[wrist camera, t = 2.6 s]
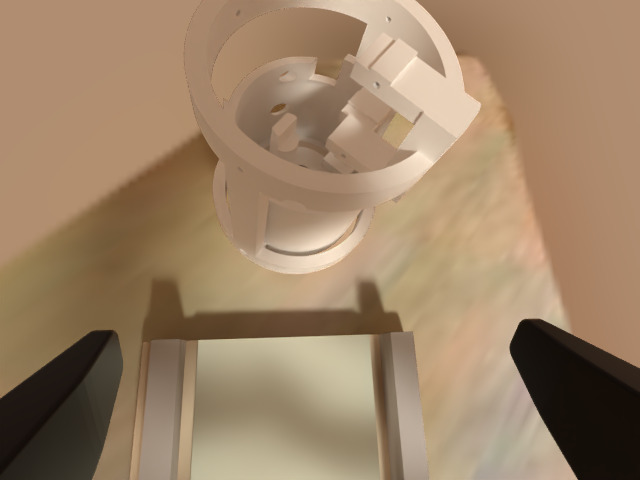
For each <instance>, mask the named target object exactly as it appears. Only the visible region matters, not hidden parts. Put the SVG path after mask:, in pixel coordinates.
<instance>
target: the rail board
mask: <svg viewBox="0 0 640 480" xmlns="http://www.w3.org/2000/svg"><path fill="white" fill-rule="evenodd" d="M129 480H430V479H429V470H428V461H427V452H426V444H425V435H424V426H423V417H422V408H421V399H420V390H419V381H418V372H417V363H416V354H415V345H414V336H413V332H389V333H383V334H375V335H339V336H308V337H277V338H247V339H216V340H192V341H186V340H182V339H162V340H151V342H143V346H142V357H141V367H140V377H139V387H138V397H137V408H136V418H135V428H134V438H133V448H132V459H131V469H130V479H129Z"/></svg>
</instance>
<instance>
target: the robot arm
mask: <svg viewBox="0 0 640 480" xmlns="http://www.w3.org/2000/svg"><path fill="white" fill-rule="evenodd" d="M510 354H511V356H512V358H513V360H514V363H515V365H516V367H517V369H518V371H519V373H520V375H521V377H522V379H523V381H524V383H525V386H526V388H527V390H528V392H529V394H530V396H531V398H532V400H533V402H534V404H535V406H536V408H537V410H538V412H539V414H540V416H541V418H542V420H543V421H544V423H545V425H546V427H547V428H548V430H549V432H550V433H551V435H552V437H553V438H554V440H555V442H556V443H557V445H558V447H559V449H560V450H561V452H562V454H563V455H564V457H565V459H566V460H567V462H568V464H569V465H570V467H571V469H572V471H573V472H574V474H575V476H576V477H577V479H578V480H640V368H638V367H636V366H633V365H632V364H630V363H628V362H626V361H624V360H622V359H619V358H617V357H616V356H614V355H612V354H610V353H608V352H606V351H604V350H602V349H600V348H597V347H596V346H594V345H592V344H590V343H588V342H586V341H584V340H582V339H580V338H578V337H576V336H574V335H572V334H570V333H568V332H566V331H564V330H562V329H560V328H558V327H556V326H554V325H552V324H550V323H548V322H546V321H544V320H541V319H524V320H522V321H521V322H520V323H519V325H518V327H517V329H516V332H515V334H514V336H513V338H512V341H511V343H510ZM122 370H123V359H122V354H121V348H120V343H119V338H118V335H117V333H116V331H114V330H96V331H92V332H90V333H88V334H87V335H86V336H84V337H83V338H82V339H80V340H79V341H77V342H76V343H75V344H73V345H72V346H71V347H69V348H68V349H67V350H65V351H64V352H63V353H61V354H60V355H59V356H57V357H56V358H54V359H53V360H52V361H50V362H49V363H48V364H46V365H45V366H44V367H42V368H41V369H40V370H38V371H37V372H36V373H34V374H33V375H31V376H30V377H29V378H27V379H26V380H25V381H23V382H22V383H21V384H19V385H18V386H17V387H15V388H14V389H13V390H11V391H10V392H8V393H7V394H6V395H4V396H3V397H2V398H0V480H92V478H93V476H94V473H95V470H96V467H97V465H98V462H99V459H100V456H101V453H102V450H103V447H104V443H105V439H106V436H107V432H108V427H109V423H110V419H111V415H112V411H113V407H114V403H115V399H116V395H117V391H118V387H119V383H120V379H121V375H122Z"/></svg>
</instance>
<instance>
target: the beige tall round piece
mask: <svg viewBox="0 0 640 480" xmlns="http://www.w3.org/2000/svg"><path fill="white" fill-rule="evenodd" d="M294 7H313V8H322V9H328V10H333V11H337V12H340V13H344V14H347V15H350V16H352V17H355V18H357V19H359V20H361V21H363V22H365V23H367V24H368V25H367V27H366V30H365V33H364V36H363V39H362V41H361V44H360V47H359V50H358V53H357V55H356V57H354V56H352V55H350V54H348V55H347V56H346V57H345V58H344V60H343V63H342V66H341V69H340V72H339V75H338V78H337V80H335V79H332V78H329V77H326V76H323V75H318V74H314V72H315V68H316V64H317V59H318V58H317V57H308V56H297V57H286V58H281V59H277V60H274V61H271V62H268V63H266V64H264V65H262V66H260V67H258V68H256V69H255V70H253V71H252V72H251V73H249V74H248V75H247V76H246V77H245V78H244V79H243V80H242V81H241V82H240V83H239V84H238V86H237V87H236V89H235V91H234V92H233V94H232V96H231V98H230V100H229V102H228V101H227V100H225V99H223V108H222V107H221V105H220V103H219V101H218V99H217V97H216V95H215V93H214V91H213V88H212V86H211V75H212V70H213V66H214V63H215V60H216V58H217V55H218V53H219V51H220V50H221V48H222V46H223V45H224V43H225V42H226V41H227V40H228V38H229V37H230V36H231V35H232V34H233V33H234V32H235V31H236V30H237V29H238V28H240V27H241V26H243V25H244V24H245V23H247V22H249V21H250V20H252V19H254V18H256V17H258V16H260V15H263V14H266V13H268V12H272V11H275V10H280V9H285V8H294ZM184 65H185V73H186V78H187V83H188V87H189V91H190V96H191V101H192V105H193V110H194V114H195V117H196V120H197V123H198V125H199V128H200V130H201V132H202V134H203V136H204V138H205V140H206V141H207V143H208V144H209V146H210V148H211V149H212V150H213V152H214V153H215V154H216V156H217V157H218V158H219V161H218V163H217V166H216V169H215V173H214V178H213V199H214V204H215V209H216V213H217V217H218V220H219V223H220V226H221V228H222V230H223V232H224V234H225V235H226V237H227V238H228V240H229V241H230V242H231V244H232V245H233V246H234V247H235V248H236V249H237V250H238V251H239V252H240V253H241V254H242V255H244V256H245V257H246V258H248V259H249V260H250V261H252V262H254V263H256V264H257V265H259V266H262V267H264V268H266V269H269V270H272V271H276V272H281V273H288V274H304V273H311V272H316V271H319V270H322V269H325V268H328V267H330V266H332V265H334V264H335V263H337V262H339V261H340V260H342V259H343V258H344V257H345V256H346V255H348V254H349V253H350V252H351V251H352V250H353V248H354V247H355V246H356V245H357V244H358V243H359V242H360V241H361V240H362V238H363V237H364V236H365V234H366V232H367V231H368V229H369V227H370V224H371V222H372V219H373V216H374V212H375V206H377V205H380V204H382V203H385V202H387V201H389V200H391V199H392V200H393V201H394V202H398V201H399V200H400V199H401V198H402V197H403V196H404V195H405V194H406V193H407V192H408V191H409V190H410V189H411V188H412V187H413V186H414V185H415V183H416V182H417V181H418V180H419V179H420V178H421V177H422V176H423V175H424V174H425V173H426V172H427V171H428V170H429V169H430V168H431V167H432V166H433V165H434V164H435V162H436V161H437V160H438V159H439V158H440V157H441V156H442V155H443V154H444V153H445V152H446V151H447V150H448V149H449V148H450V147H451V146H452V145H453V144H454V143H455V142H456V140H457V139H458V138H459V137H460V136H461V135H462V134H463V133H464V132H465V130H466V129H467V128H468V126H469V125H470V123H471V122H472V121H473V119H474V118H475V116H476V115H477V114H478V112H479V110H480V107H481V103H479V102H478V101H476V100H475V99H474V98H472V97H471V96H470V95H468V94H467V93H466V92H464V83H463V77H462V72H461V68H460V65H459V62H458V59H457V56H456V54H455V52H454V49H453V47H452V45H451V43H450V42H449V40H448V38H447V36H446V35H445V33H444V32H443V30H442V29H441V28H440V26H439V25H438V24H437V22H436V21H435V20H434V19H433V18H432V16H431V15H430V14H429V13H428V12H427V11H426V10H425V9H424V8H423V7H422V6H421V5H420V4H419V3H418V2H416V1H415V0H203V1H202V2H201V3H200V5H199V6H198V8H197V10H196V11H195V14H194V15H193V17H192V19H191V22H190V25H189V27H188V31H187V35H186V39H185V46H184ZM285 72H288V73H287V74H285V75H284V76H281V75H282V74H283V73H285ZM280 76H281V77H280ZM279 104H286V106H285V108H284V109H282V110H280V111H278V112H274V113H271V110H272V109H273V108H274V107H275V106H276V105H279ZM396 112H398V113H399V114H401V115H402V116H403V117H405V118H406V119H407V120H409V121H410V122H411V123H413V124H414V127H413V128H412V129H411V131H410V132H409V134H408V135H407V136H406V138H405V139H404V141H403V142H402V143H401V145H400V146H399V148H398V149H396V148H395V147H393V146H392V145H391V144H389V143H388V142H387V141H385V140H384V139H383V138H381V137H382V136H383V134H384V132H385V131H386V129H387V127H388V126H389V124H390V122H391V121H392V119H393V117H394V116H395V114H396ZM227 189H228V197H229V205H230V211H229V208H228V205H227V201H226V194H227ZM356 217H357V220H356V224H355V226H354V228H353V230H352V232H351V234H350V236H349V237H348V238H347V239H346V240H345V241H344V242H342V243H341V244H340V245H338V246H336V247H335V248H333V249H331V250H329V251H326V252H324V253H321V254H317V253H319V252H322V251H324V250H326V249H327V248H329V247H331V246H332V245H333V244H335V243H336V242H337V241H338V240H339V239H340V238H341V236H342V235H343V234H344V233H345V231H346V230H347V229H348V227H349V226H350V225H351V223H352V222H353V221H354V219H355V218H356ZM313 254H317V255H313ZM309 255H312V256H309Z"/></svg>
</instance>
